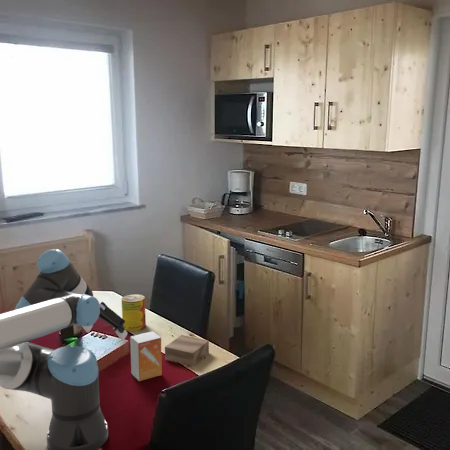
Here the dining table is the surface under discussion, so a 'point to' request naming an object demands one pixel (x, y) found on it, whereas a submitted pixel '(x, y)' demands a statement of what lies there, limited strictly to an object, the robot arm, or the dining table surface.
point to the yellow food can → (133, 312)
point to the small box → (146, 355)
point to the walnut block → (187, 350)
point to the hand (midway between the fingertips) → (107, 332)
